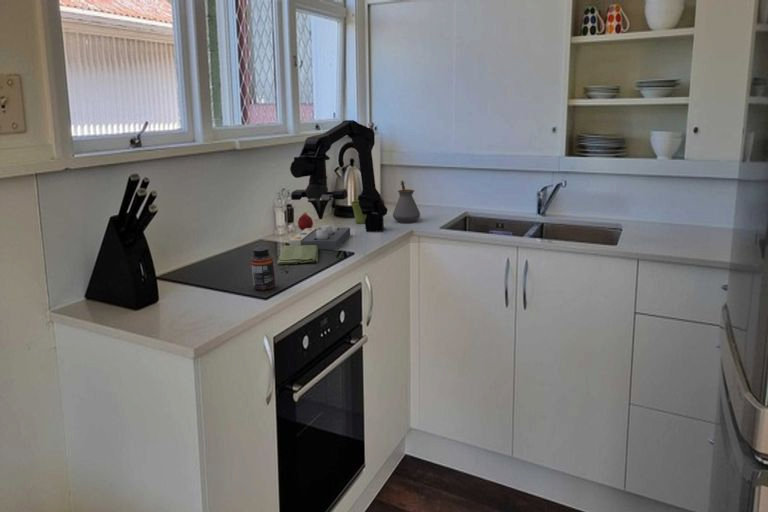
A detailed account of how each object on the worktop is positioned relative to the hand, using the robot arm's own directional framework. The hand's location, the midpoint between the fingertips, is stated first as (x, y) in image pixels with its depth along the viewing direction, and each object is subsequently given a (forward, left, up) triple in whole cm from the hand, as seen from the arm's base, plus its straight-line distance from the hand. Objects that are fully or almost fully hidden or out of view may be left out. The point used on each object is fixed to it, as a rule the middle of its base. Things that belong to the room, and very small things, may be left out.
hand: (320, 219), depth 209 cm
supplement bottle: (+4, +47, -10) cm, 48 cm away
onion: (+13, -23, -10) cm, 28 cm away
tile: (+9, -7, -10) cm, 15 cm away
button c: (0, 0, -8) cm, 8 cm away
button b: (0, -7, -8) cm, 10 cm away
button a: (0, -14, -10) cm, 17 cm away
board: (0, -7, -10) cm, 12 cm away
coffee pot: (-23, -49, -10) cm, 55 cm away
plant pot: (-6, -42, -10) cm, 44 cm away
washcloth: (+4, +15, -11) cm, 19 cm away
